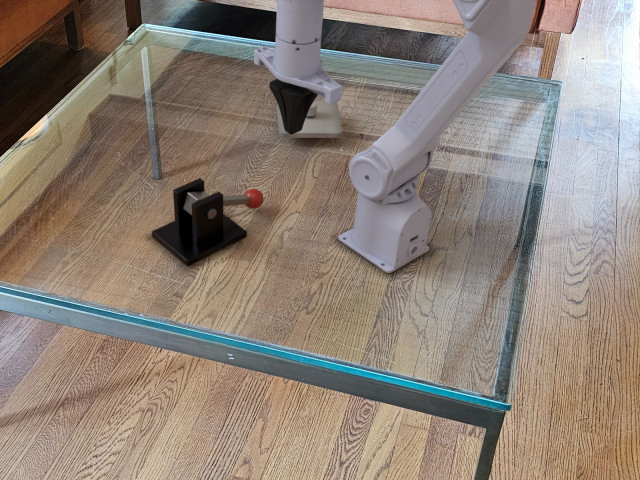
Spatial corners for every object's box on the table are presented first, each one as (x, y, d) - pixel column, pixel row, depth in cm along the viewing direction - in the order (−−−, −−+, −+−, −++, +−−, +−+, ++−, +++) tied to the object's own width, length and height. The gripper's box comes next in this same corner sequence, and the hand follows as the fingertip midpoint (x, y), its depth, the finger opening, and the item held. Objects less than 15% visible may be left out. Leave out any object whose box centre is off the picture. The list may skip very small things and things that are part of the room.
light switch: (342, 148, 130) (345, 119, 126) (278, 148, 130) (279, 119, 126) (335, 116, 137) (338, 88, 134) (275, 116, 137) (276, 88, 134)
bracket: (210, 209, 118) (209, 165, 113) (246, 237, 113) (247, 192, 108) (151, 237, 113) (148, 192, 108) (187, 266, 108) (185, 221, 103)
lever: (251, 202, 118) (256, 184, 117) (264, 211, 117) (269, 193, 115) (181, 209, 110) (186, 189, 108) (194, 219, 108) (199, 199, 107)
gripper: (363, 45, 102) (352, 142, 111) (283, 7, 111) (279, 100, 120) (321, 62, 99) (314, 160, 108) (242, 22, 107) (241, 116, 116)
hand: (293, 130), depth 114 cm, fingers closed
